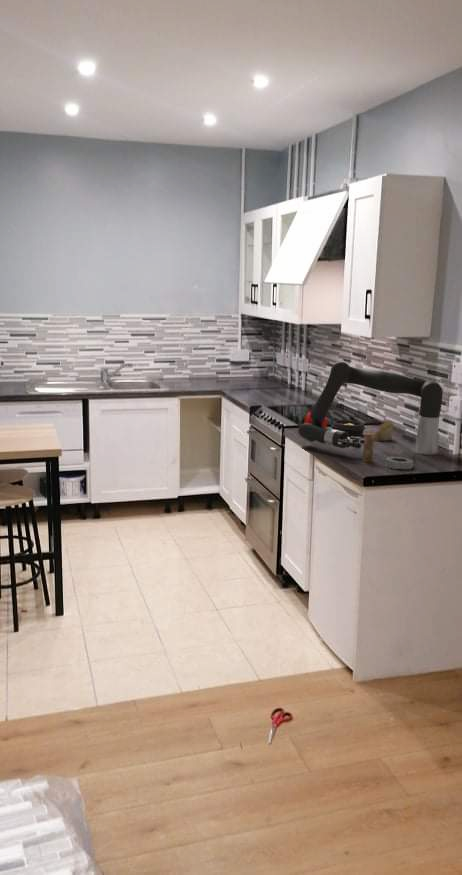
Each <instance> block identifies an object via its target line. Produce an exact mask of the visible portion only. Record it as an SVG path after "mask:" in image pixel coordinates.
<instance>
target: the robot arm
mask: <svg viewBox="0 0 462 875" xmlns="http://www.w3.org/2000/svg"><path fill="white" fill-rule="evenodd" d="M343 384H349V385H358V386H361V387H365V388H368V389H372V390H375V391H379V392H384V393H389V394H406V395H407V394H408V395H411V396H416V397H419V398H420V405H419V410H418V422H417V429H416V431H417V432H416V440H415V442H416V443H415V449H414V450H415V451H414V453H417V454H419V455H426V456H428V455H429V456H431V455H438V452H439V451H438V450H439V443H440V442H439V441H440V433H439V426H440V417H441V415H440V414H441V410H442V402H443V392H444V391H443V388H442V386H441V385H440V384H439V382H436V381H435V380H429V379H428V380H427V379H425V380H424V379H417V378H411V377H408V376H405V375H401V374H397V373H395V372H394V373H393V372H388V371H384V370H378V369H377V370H376V369H363V368H357V367H353V366H350V365H349V364H348V363H347V362H345V361H337V362H335V363H334V364H333V365H332V366H331V369H330V373H329V376H328V379H327V382H326V384H325V386H324V388H323V389H322V392H321V394H320V395H319V397H318V399H317V400H316V402H315V403H314V405H313V407H312V410H311V412H309V413H310V418H311V420H312V423H311V424H309V423H305V422H304V423H302V424H300V425H299V426H298V429H297V430H298V431H297V432H298V434H299V436H300V438H303V439H304V440H307V441H308V442H311V443H312V442H315V441H316V442H318V443H320V444H324V445H328V446H331V447H336V448H339V449H347V448H356V449H361V447H362V446H364V440H365V438H362V437H358V436H356V437H353V436H349V434H348V433H347V432H344V431H340V430H335V429H332V428H326V427H325V428H322V425H323V421H324V419H325V417H326V418H327V415H328V414H329V411H330V409H331V407H332V405H333V402H334V400H335V398H336V396H337V394H338V392H339V391H340V389H341V387H342V386H343Z"/></svg>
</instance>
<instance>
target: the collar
mask: <svg viewBox="0 0 462 875" xmlns="http://www.w3.org/2000/svg"><path fill="white" fill-rule="evenodd" d="M384 463H385V464H384V466H385V467H387V469H391V468H392V470H397V469H405V470H404V471H408V470H407V469H409V470H412V469H413V464H414V460H413V459H411V458H408V457H404V456H403V457H402V456H387V457H386V458H385V462H384ZM411 468H412V469H411Z"/></svg>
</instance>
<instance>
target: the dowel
mask: <svg viewBox="0 0 462 875" xmlns="http://www.w3.org/2000/svg"><path fill="white" fill-rule="evenodd" d="M364 435H365V440H364V445H363V453H362V455H363V456H362V462H365V463H372V462H373V459H374V458H373V455H374V445H375V444H374V442H375V440H374V437H375V433H367V432H366V433H364Z"/></svg>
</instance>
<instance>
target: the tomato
mask: <svg viewBox="0 0 462 875" xmlns="http://www.w3.org/2000/svg"><path fill="white" fill-rule="evenodd" d="M310 413H311V412H308V413H307V414H306V416H305V418H304V423H309V424H311V423H312V420H311V418H310ZM327 426H328V417H327V416H326V417H325V419H324V421H323V425H322V428H326V427H327Z"/></svg>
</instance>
